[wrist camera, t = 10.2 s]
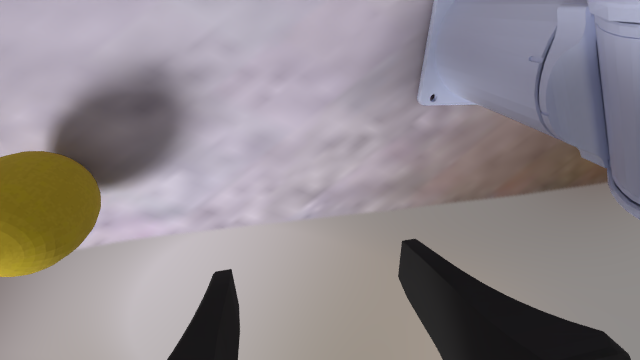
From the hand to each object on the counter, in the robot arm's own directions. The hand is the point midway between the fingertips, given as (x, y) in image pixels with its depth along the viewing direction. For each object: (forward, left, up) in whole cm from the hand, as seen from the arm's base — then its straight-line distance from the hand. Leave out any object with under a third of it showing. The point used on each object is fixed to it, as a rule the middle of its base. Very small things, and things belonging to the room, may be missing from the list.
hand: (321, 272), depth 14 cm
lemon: (+14, 0, -11) cm, 17 cm away
